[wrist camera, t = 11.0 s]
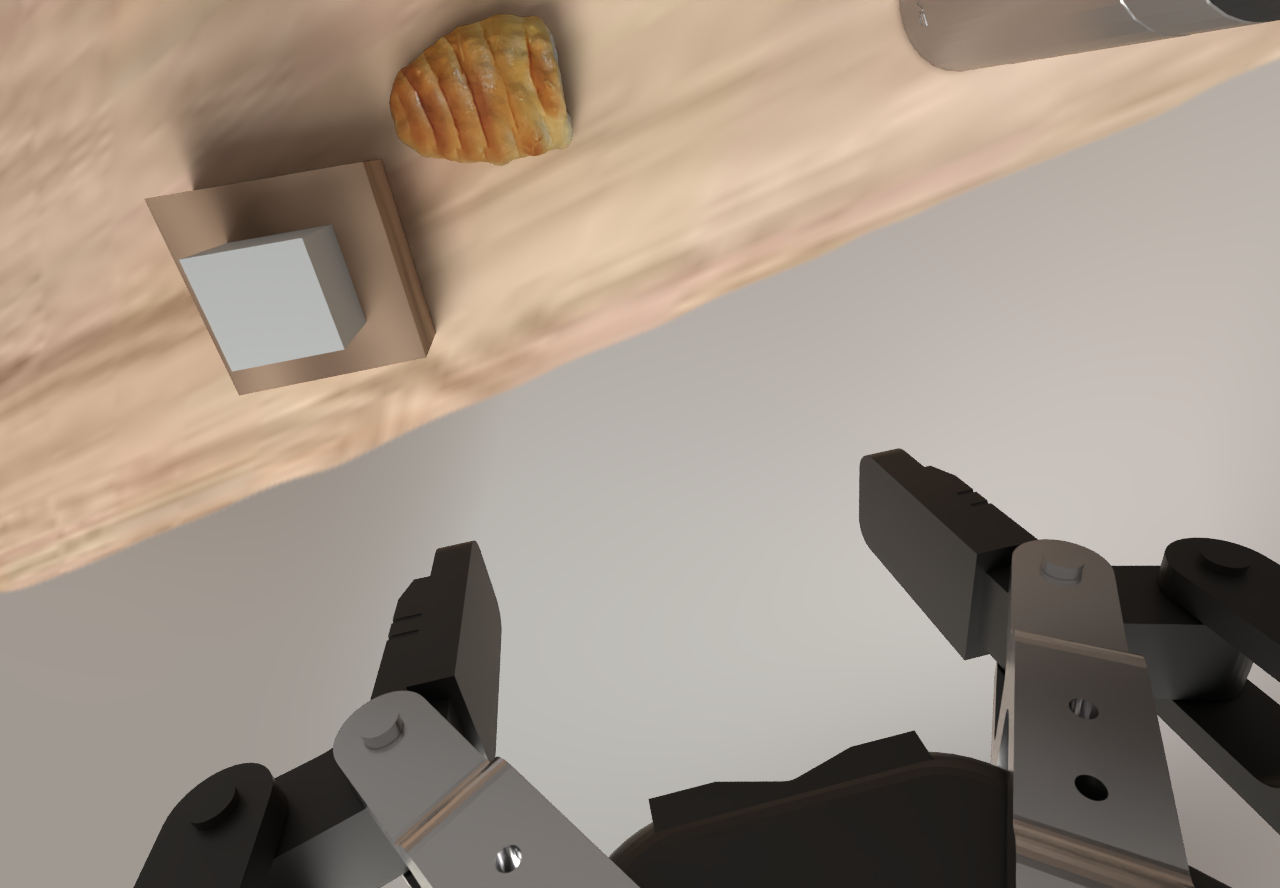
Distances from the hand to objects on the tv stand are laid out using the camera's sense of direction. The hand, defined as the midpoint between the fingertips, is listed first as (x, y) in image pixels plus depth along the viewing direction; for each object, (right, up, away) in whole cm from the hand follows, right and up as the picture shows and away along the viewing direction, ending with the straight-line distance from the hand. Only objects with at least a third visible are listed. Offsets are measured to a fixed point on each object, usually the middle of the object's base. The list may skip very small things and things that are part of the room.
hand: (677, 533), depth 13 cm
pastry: (-9, +21, +22) cm, 31 cm away
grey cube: (-18, +10, +19) cm, 28 cm away
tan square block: (-19, +12, +23) cm, 33 cm away
